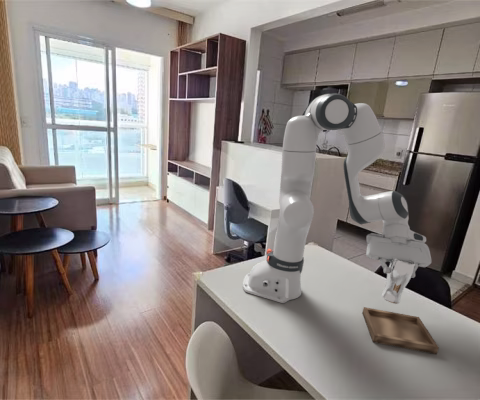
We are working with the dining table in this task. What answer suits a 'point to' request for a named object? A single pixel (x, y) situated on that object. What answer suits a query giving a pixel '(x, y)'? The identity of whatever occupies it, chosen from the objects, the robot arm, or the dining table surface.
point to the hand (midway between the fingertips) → (399, 274)
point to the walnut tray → (399, 330)
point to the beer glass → (397, 279)
